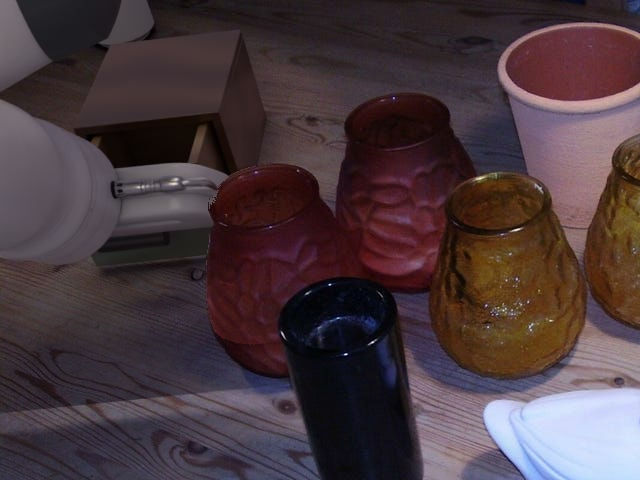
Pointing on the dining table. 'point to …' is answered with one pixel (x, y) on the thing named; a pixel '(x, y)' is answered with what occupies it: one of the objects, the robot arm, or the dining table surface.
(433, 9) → the dining table surface
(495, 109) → the dining table surface
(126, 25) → the can
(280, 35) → the dining table surface
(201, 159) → the drawer
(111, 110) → the cabinet
